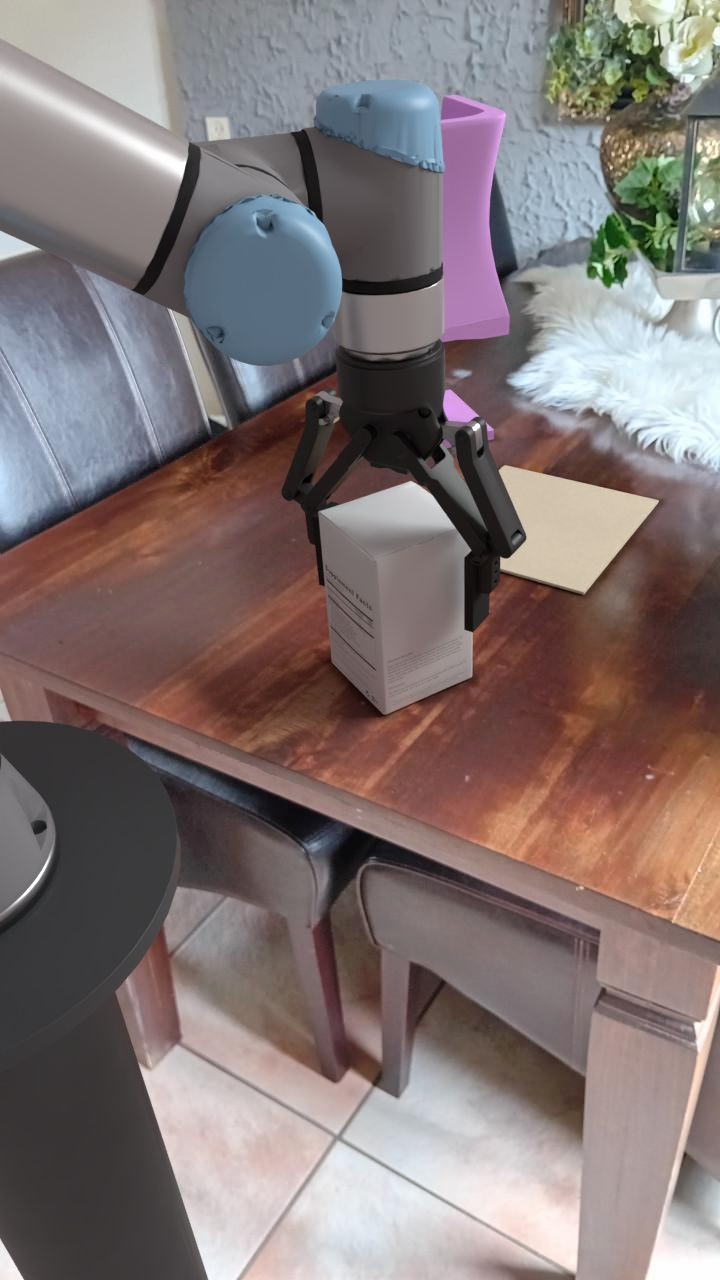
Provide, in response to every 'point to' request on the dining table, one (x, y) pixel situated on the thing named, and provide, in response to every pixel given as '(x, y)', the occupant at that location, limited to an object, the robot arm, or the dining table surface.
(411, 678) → the rectangular carton
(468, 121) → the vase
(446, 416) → the robot arm
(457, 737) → the dining table surface
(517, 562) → the placemat
